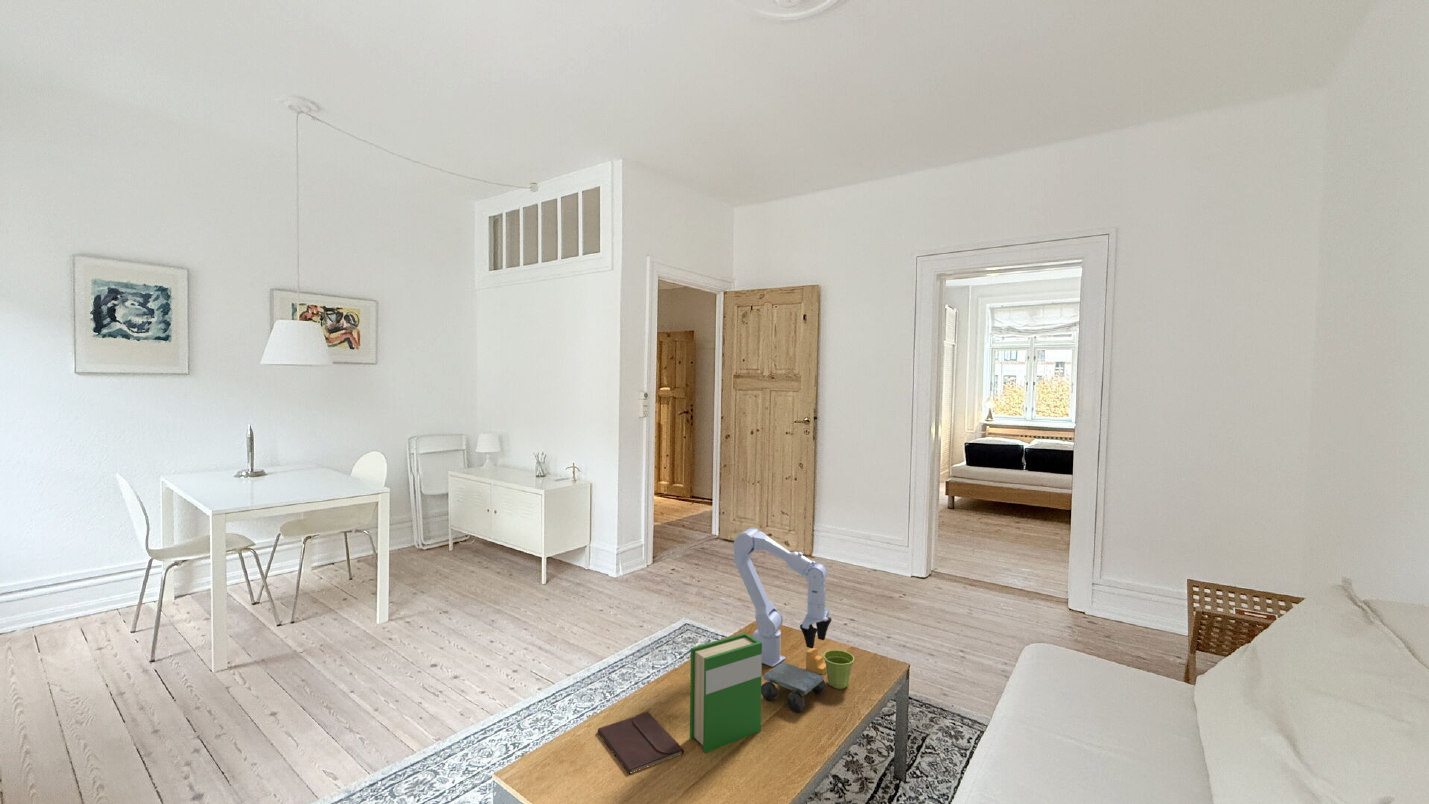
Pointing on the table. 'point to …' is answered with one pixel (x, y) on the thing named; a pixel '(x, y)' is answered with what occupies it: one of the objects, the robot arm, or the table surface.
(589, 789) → the table surface
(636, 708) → the table surface
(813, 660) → the orange stepped block
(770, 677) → the trolley
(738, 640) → the hardback book
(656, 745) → the notebook
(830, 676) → the plant pot
